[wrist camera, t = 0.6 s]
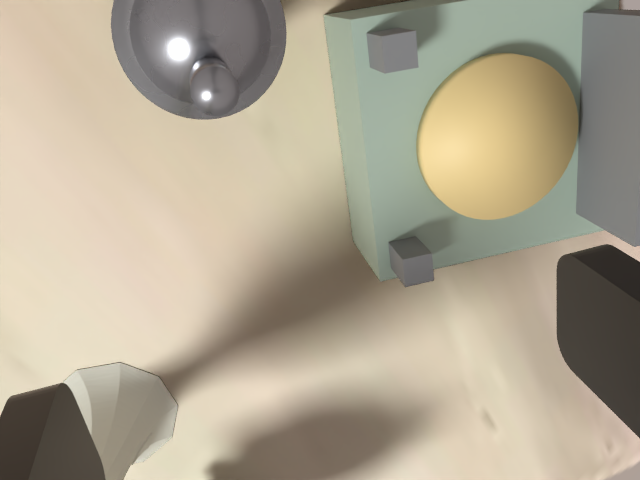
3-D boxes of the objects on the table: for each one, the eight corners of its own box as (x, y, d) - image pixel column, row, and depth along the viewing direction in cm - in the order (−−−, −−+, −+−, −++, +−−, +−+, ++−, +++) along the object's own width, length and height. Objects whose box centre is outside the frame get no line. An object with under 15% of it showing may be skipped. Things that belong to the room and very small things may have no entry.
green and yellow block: (323, 14, 34) (382, 25, 24) (553, -24, 35) (697, -29, 26) (353, 241, 39) (410, 326, 29) (550, 198, 41) (666, 264, 31)
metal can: (127, -33, 31) (70, -55, 15) (235, -49, 32) (286, -86, 16) (155, 78, 33) (129, 157, 18) (255, 60, 34) (316, 121, 18)
